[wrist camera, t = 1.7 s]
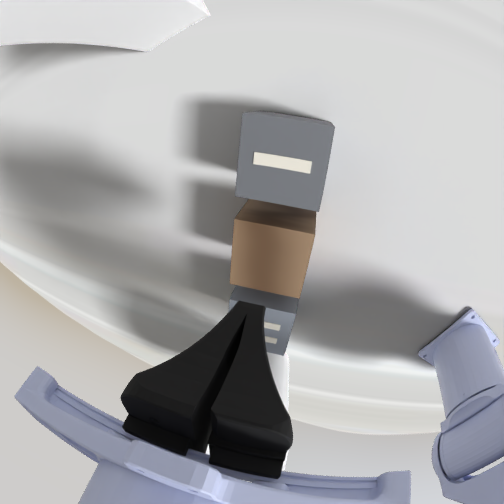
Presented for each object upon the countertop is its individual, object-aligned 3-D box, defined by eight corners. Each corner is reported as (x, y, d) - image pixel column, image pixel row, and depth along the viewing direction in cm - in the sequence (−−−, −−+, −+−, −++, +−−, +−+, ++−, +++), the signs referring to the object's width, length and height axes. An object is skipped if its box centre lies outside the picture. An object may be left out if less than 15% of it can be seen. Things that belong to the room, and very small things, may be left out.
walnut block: (316, 205, 21) (314, 234, 17) (304, 261, 23) (299, 298, 19) (252, 194, 22) (234, 218, 17) (246, 249, 24) (229, 283, 20)
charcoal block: (330, 122, 17) (334, 127, 13) (319, 187, 20) (318, 212, 16) (258, 110, 18) (239, 112, 14) (251, 175, 21) (232, 196, 16)
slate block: (301, 275, 24) (295, 314, 20) (291, 316, 27) (283, 356, 22) (244, 263, 25) (227, 299, 21) (239, 305, 27) (224, 342, 23)
